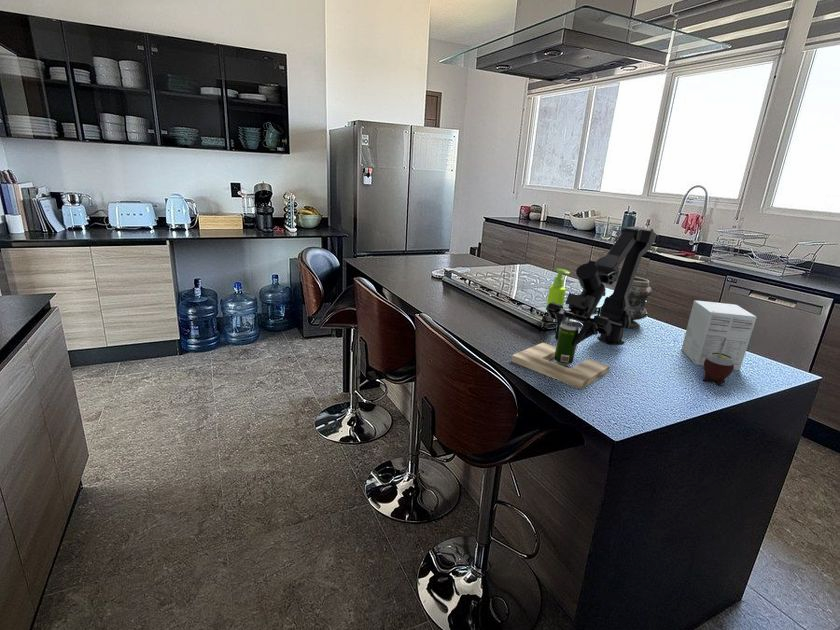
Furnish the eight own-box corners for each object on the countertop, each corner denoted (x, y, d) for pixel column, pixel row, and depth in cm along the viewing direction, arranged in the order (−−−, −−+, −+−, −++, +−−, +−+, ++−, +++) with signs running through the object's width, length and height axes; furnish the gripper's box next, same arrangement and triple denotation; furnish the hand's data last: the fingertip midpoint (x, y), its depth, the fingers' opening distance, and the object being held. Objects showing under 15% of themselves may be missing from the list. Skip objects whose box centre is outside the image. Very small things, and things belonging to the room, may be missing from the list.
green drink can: (574, 366, 132) (582, 327, 128) (556, 365, 132) (562, 326, 129) (570, 358, 137) (576, 321, 133) (552, 357, 138) (558, 319, 134)
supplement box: (741, 371, 140) (758, 317, 134) (694, 365, 142) (710, 311, 136) (722, 354, 152) (737, 304, 147) (680, 349, 154) (693, 299, 149)
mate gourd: (717, 376, 135) (732, 328, 130) (735, 389, 127) (752, 339, 123) (693, 375, 134) (706, 327, 130) (710, 388, 127) (725, 337, 122)
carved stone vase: (633, 319, 182) (645, 275, 176) (648, 330, 171) (661, 284, 165) (604, 317, 181) (614, 273, 175) (617, 328, 170) (629, 281, 164)
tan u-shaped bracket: (542, 348, 147) (543, 342, 146) (608, 372, 133) (610, 366, 132) (511, 361, 136) (512, 355, 135) (580, 389, 121) (582, 382, 120)
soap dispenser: (553, 324, 170) (562, 272, 164) (541, 318, 176) (549, 267, 170) (565, 323, 173) (574, 271, 166) (552, 317, 179) (561, 266, 172)
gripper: (553, 276, 136) (528, 318, 132) (615, 290, 124) (589, 338, 120) (563, 297, 144) (539, 337, 140) (622, 312, 132) (597, 357, 128)
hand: (564, 342), depth 132 cm, fingers closed on green drink can, 5 cm apart
